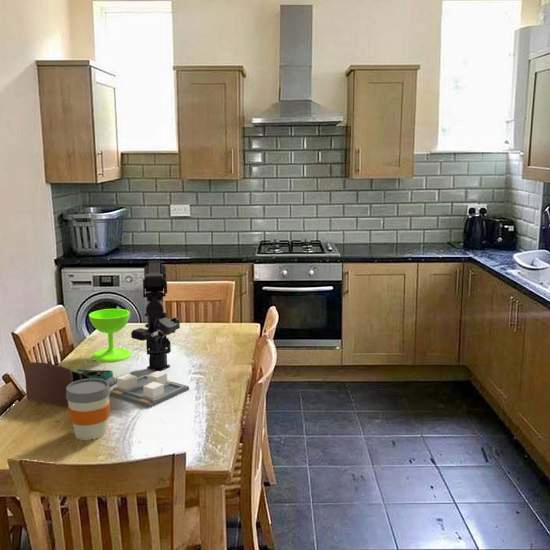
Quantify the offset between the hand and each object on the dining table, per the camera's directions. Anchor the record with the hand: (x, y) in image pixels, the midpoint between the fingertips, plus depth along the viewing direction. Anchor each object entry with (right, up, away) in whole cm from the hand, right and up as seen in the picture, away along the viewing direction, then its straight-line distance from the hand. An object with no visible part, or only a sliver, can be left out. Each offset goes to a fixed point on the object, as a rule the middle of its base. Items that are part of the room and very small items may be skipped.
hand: (157, 352), depth 220 cm
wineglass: (-25, -6, +32) cm, 41 cm away
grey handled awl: (-17, -11, -3) cm, 21 cm away
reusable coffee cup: (-13, -20, -37) cm, 43 cm away
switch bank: (-2, -13, -5) cm, 14 cm away
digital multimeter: (-26, -11, +7) cm, 29 cm away
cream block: (+1, -11, -2) cm, 12 cm away
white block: (-9, -12, -5) cm, 16 cm away
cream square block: (+1, -13, -12) cm, 18 cm away
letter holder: (-31, -15, -11) cm, 36 cm away
